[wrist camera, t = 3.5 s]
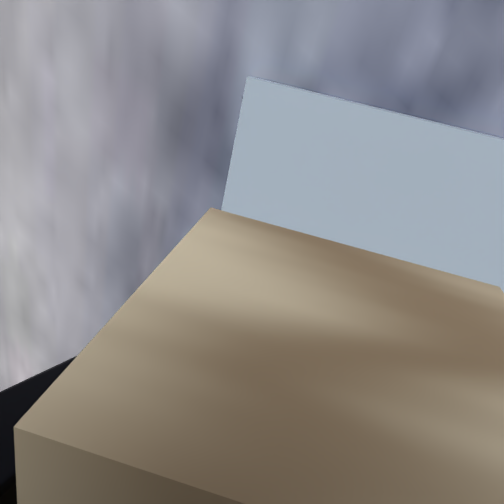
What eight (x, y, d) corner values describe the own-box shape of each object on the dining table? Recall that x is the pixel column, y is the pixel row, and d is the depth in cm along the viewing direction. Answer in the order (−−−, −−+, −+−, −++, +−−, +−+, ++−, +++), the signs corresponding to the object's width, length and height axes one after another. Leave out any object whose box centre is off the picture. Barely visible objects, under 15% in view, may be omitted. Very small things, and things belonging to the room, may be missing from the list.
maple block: (499, 286, 7) (769, 676, 3) (393, 481, 9) (440, 878, 5) (210, 207, 8) (13, 426, 3) (173, 412, 10) (27, 716, 5)
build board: (1041, 270, 12) (1074, 281, 12) (657, 596, 20) (666, 612, 20) (250, 76, 15) (246, 77, 14) (179, 440, 22) (174, 450, 22)
